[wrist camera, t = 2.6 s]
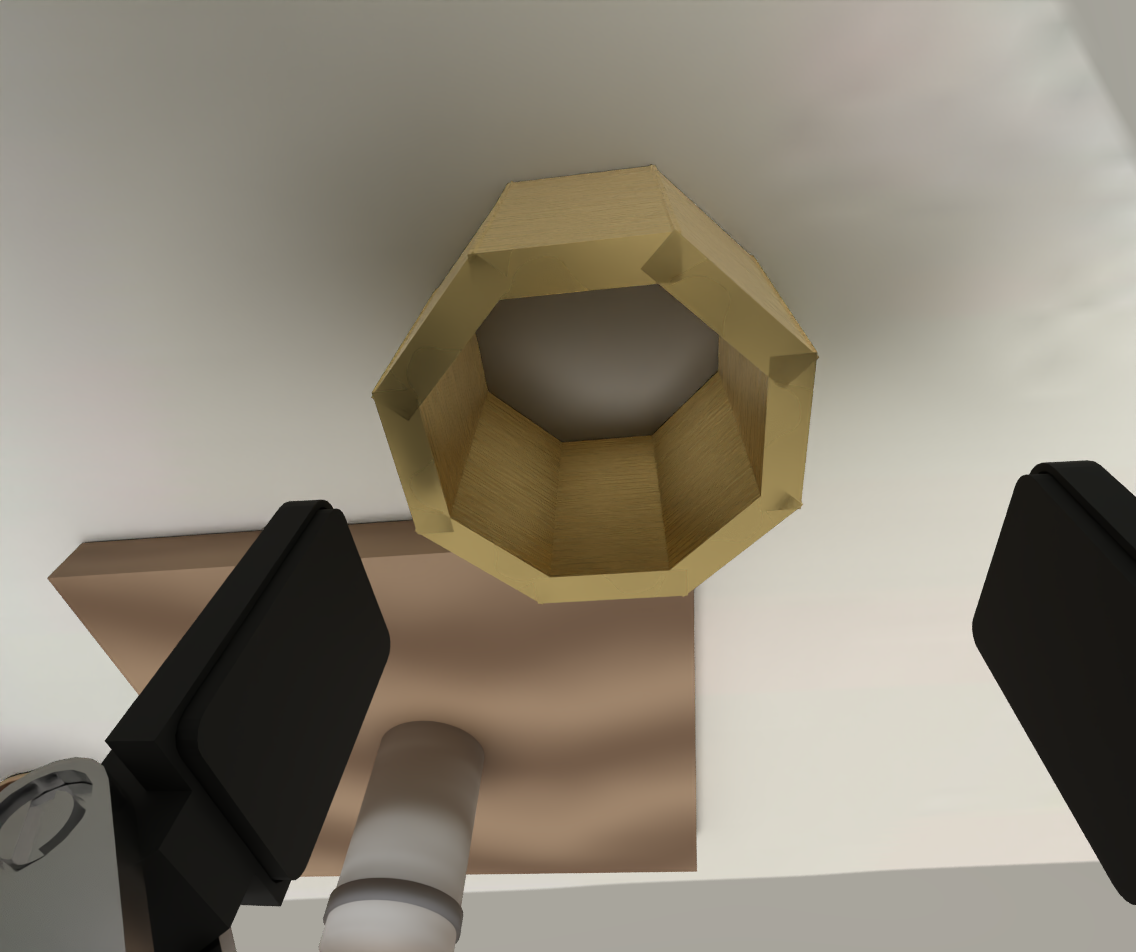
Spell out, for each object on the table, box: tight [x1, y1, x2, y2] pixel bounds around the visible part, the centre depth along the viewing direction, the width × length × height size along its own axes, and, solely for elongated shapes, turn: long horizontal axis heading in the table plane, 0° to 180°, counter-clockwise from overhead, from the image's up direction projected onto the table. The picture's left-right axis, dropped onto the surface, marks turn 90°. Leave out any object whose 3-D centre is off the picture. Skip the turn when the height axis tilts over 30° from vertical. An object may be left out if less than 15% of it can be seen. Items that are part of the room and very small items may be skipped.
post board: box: [48, 520, 697, 952], centre depth 21 cm, size 18×18×8 cm
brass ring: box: [371, 164, 819, 605], centre depth 13 cm, size 7×7×5 cm
